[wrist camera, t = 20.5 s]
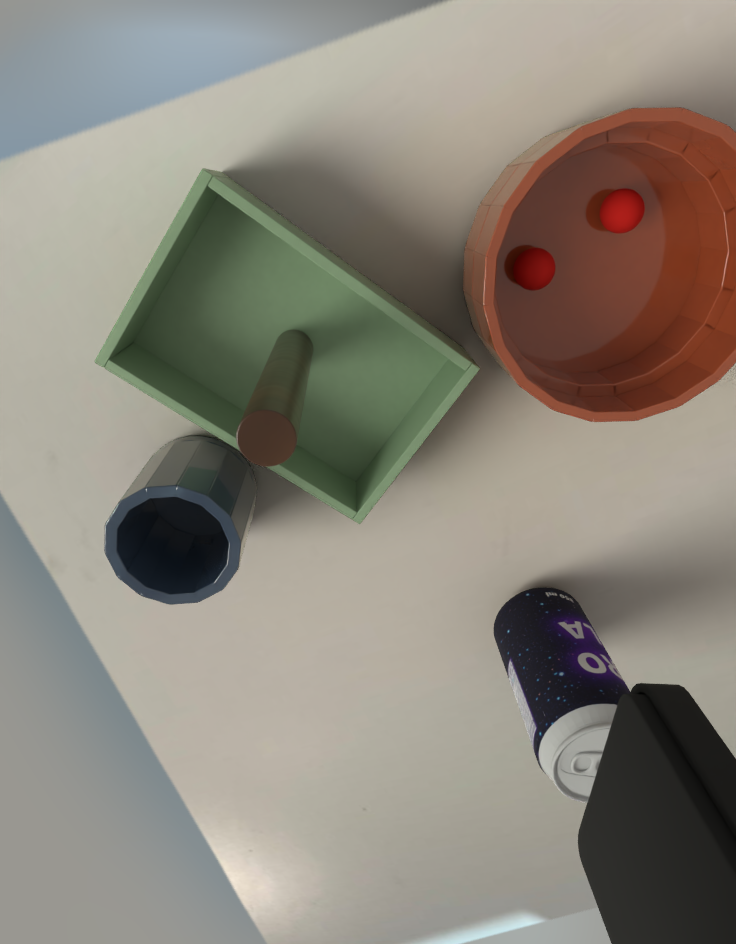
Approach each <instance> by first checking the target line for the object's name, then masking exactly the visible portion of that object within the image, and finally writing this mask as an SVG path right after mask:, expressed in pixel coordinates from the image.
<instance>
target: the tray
mask: <svg viewBox="0 0 736 944" xmlns="http://www.w3.org/2000/svg"><path fill="white" fill-rule="evenodd" d="M287 330H299V331H302V332H304V333H305V334H306V335H308V337H309V338H310V339H311V341H312V344H313V355H312V361H311V366H310V372H309V378H308V383H307V389H306V394H305V400H304V406H303V411H302V417H301V422H300V428H299V434H298V439H297V445H296V448H295V451H294V452H293V454H292V455H291V457H290V458H289V459H288V460H286V461H285V462H283V463H281V464H279V465H276V466H270V467H268V466H265V467H267V468H269V469H270V470H272V471H274V472H275V473H277V474H278V475H280V476H282V477H283V478H285V479H287V480H288V481H290V482H292V483H293V484H295V485H296V486H298V487H300V488H301V489H303V490H305V491H306V492H308V493H310V494H311V495H313V496H314V497H316V498H318V499H319V500H321V501H323V502H324V503H326V504H328V505H329V506H331V507H333V508H334V509H336V510H337V511H339V512H341V513H342V514H344V515H346V516H347V517H349V518H351V519H353V520H354V521H355V522H357V523H359V524H360V523H361V522H362V521H363V520H364V518H365V517H366V516H367V514H368V513H369V512H370V511H371V509H372V508H373V507H374V505H375V504H376V503H377V502H378V500H379V499H380V498H381V496H382V495H383V494H384V493H385V491H386V490H387V489H388V487H389V486H390V485H391V483H392V482H393V481H394V480H395V478H396V477H397V476H398V474H399V473H400V472H401V471H402V469H403V468H404V467H405V465H406V464H407V463H408V462H409V460H410V459H411V458H412V456H413V455H414V454H415V452H416V451H417V450H418V449H419V447H420V446H421V445H422V443H423V442H424V441H425V440H426V438H427V437H428V436H429V434H430V433H431V432H432V431H433V429H434V428H435V427H436V425H437V424H438V423H439V422H440V420H441V419H442V418H443V416H444V415H445V414H446V412H447V411H448V410H449V409H450V407H451V406H452V405H453V403H454V402H455V401H456V400H457V398H458V397H459V396H460V394H461V393H462V392H463V391H464V389H465V388H466V387H467V385H468V384H469V383H470V381H471V380H472V379H473V378H474V376H475V375H476V374H477V372H478V371H479V370H480V368H479V367H478V365H477V364H476V363H475V362H474V360H473V359H472V358H471V357H470V355H469V354H468V353H467V352H466V350H465V349H464V348H463V347H461V346H460V345H459V344H457V343H456V342H454V341H453V340H452V339H450V338H449V337H448V336H446V335H445V334H443V333H442V332H441V331H439V330H438V329H437V328H435V327H434V326H432V325H431V324H430V323H428V322H427V321H426V320H424V319H423V318H421V317H420V316H419V315H417V314H416V313H415V312H413V311H412V310H410V309H409V308H408V307H406V306H405V305H404V304H402V303H401V302H399V301H398V300H397V299H395V298H394V297H393V296H391V295H390V294H388V293H387V292H386V291H384V290H383V289H382V288H380V287H379V286H377V285H376V284H375V283H373V282H372V281H371V280H369V279H368V278H366V277H365V276H364V275H362V274H361V273H360V272H358V271H357V270H355V269H354V268H353V267H351V266H350V265H349V264H347V263H346V262H344V261H343V260H342V259H340V258H339V257H338V256H336V255H335V254H333V253H332V252H331V251H329V250H328V249H326V248H325V247H324V246H322V245H321V244H320V243H318V242H317V241H315V240H314V239H313V238H311V237H310V236H309V235H307V234H306V233H304V232H303V231H302V230H300V229H299V228H298V227H296V226H295V225H293V224H292V223H291V222H289V221H288V220H287V219H285V218H284V217H282V216H281V215H280V214H278V213H277V212H276V211H274V210H273V209H271V208H270V207H269V206H267V205H266V204H265V203H263V202H262V201H260V200H259V199H258V198H256V197H255V196H254V195H252V194H251V193H249V192H248V191H247V190H245V189H244V188H243V187H241V186H240V185H238V184H237V183H236V182H234V181H233V180H232V179H230V178H229V177H227V176H226V175H225V174H223V173H222V172H218V171H213V170H208V169H202V170H201V172H200V174H199V176H198V177H197V179H196V181H195V183H194V185H193V186H192V188H191V190H190V192H189V193H188V195H187V197H186V199H185V201H184V202H183V204H182V206H181V208H180V210H179V211H178V213H177V215H176V217H175V218H174V220H173V222H172V224H171V226H170V227H169V229H168V231H167V233H166V235H165V236H164V238H163V240H162V242H161V243H160V245H159V247H158V249H157V251H156V252H155V254H154V256H153V258H152V260H151V261H150V263H149V265H148V267H147V268H146V270H145V272H144V274H143V276H142V277H141V279H140V281H139V283H138V285H137V286H136V288H135V290H134V292H133V293H132V295H131V297H130V299H129V301H128V302H127V304H126V306H125V308H124V310H123V311H122V313H121V315H120V317H119V319H118V320H117V322H116V324H115V326H114V327H113V329H112V331H111V333H110V335H109V336H108V338H107V340H106V342H105V344H104V345H103V347H102V349H101V351H100V352H99V354H98V356H97V358H96V360H95V363H97V364H98V365H100V366H102V367H105V369H107V370H108V371H110V372H111V373H113V374H115V375H116V376H118V377H120V378H121V379H123V380H125V381H126V382H128V383H129V384H131V385H133V386H134V387H136V388H138V389H139V390H141V391H143V392H144V393H146V394H147V395H149V396H151V397H152V398H154V399H156V400H157V401H159V402H161V403H162V404H164V405H165V406H167V407H169V408H170V409H172V410H174V411H175V412H177V413H179V414H180V415H182V416H183V417H185V418H187V419H188V420H190V421H192V422H193V423H195V424H197V425H198V426H200V427H201V428H203V429H205V430H206V431H208V432H210V433H211V434H213V435H215V436H216V437H218V438H220V439H221V440H223V441H224V442H226V443H228V444H229V445H231V446H233V447H234V448H236V449H238V450H239V448H238V445H237V441H236V432H237V428H238V426H239V423H240V421H241V419H242V417H243V414H244V412H245V410H246V408H247V405H248V403H249V401H250V399H251V396H252V394H253V392H254V390H255V387H256V385H257V383H258V381H259V378H260V376H261V374H262V372H263V369H264V367H265V365H266V363H267V360H268V358H269V356H270V354H271V352H272V349H273V347H274V345H275V343H276V340H277V338H278V337H279V336H280V335H281V334H282V333H283V332H285V331H287ZM239 451H240V450H239Z"/></svg>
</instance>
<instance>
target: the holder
mask: <svg viewBox="0 0 736 944" xmlns="http://www.w3.org/2000/svg"><path fill="white" fill-rule="evenodd" d="M256 498H257V484H256V479H255V476H254V473H253V471H252V469H251V467H250V465H249V464H248V462H247V461H246V459H245V458H244V457H243V456H242V455H241V454H240V453H239V452H238V451H237V450H236V449H234V448H233V447H231V446H230V445H228V444H226V443H224V442H222V441H219V440H217V439H214V438H210V437H204V436H188V437H183V438H179V439H176V440H173V441H171V442H169V443H167V444H166V445H164V446H163V447H162V448H160V449H159V450H158V451H157V452H156V453H155V454H154V455H153V456H152V457H151V458H150V460H149V461H148V463H147V464H146V465H145V467H144V468H143V469H142V471H141V472H140V474H139V475H138V476H137V478H136V479H135V480H134V482H133V483H132V485H131V486H130V487H129V489H128V490H127V491H126V493H125V494H124V496H123V497H122V498H121V500H120V501H119V503H118V504H117V506H116V507H115V509H114V511H113V512H112V514H111V515H110V517H109V519H108V520H107V522H106V524H105V542H104V551H105V554H106V556H107V558H108V560H109V562H110V564H111V566H112V568H113V570H114V572H115V574H116V576H118V578H119V579H120V580H122V581H123V582H124V583H125V584H127V585H128V586H129V587H130V588H132V589H133V590H134V591H135V592H137V593H138V594H139V595H141V596H143V597H147V598H150V599H153V600H156V601H160V602H163V603H166V604H184V603H198V602H200V601H202V600H204V599H206V598H208V597H210V596H212V595H214V594H216V593H218V592H219V591H221V590H223V589H224V588H225V587H226V585H227V584H228V583H229V581H230V580H231V578H232V577H233V576H234V574H235V573H236V571H237V570H238V568H239V565H240V561H241V558H242V554H243V550H244V547H245V543H246V539H247V536H248V532H249V529H250V525H251V521H252V518H253V514H254V508H255V502H256Z"/></svg>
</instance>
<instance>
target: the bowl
mask: <svg viewBox="0 0 736 944" xmlns="http://www.w3.org/2000/svg"><path fill="white" fill-rule="evenodd" d="M622 188H628V189H632V190H635V191H636V192H638V193H639V194H640V196H641V197H642V199H643V201H644V205H645V211H644V215H643V218H642V220H641V221H640V223H639V224H638V225H637V226H636V227H635V228H634V229H632V230H631V231H629V232H626V233H613V232H610V231H608V230H607V229H606V228H605V227H604V226H603V224H602V223H601V220H600V208H601V205H602V202H603V201H604V199H605V198H606V197H607V196H608V195H609V194H610V193H612V192H613V191H615V190H618V189H622ZM465 247H466V248H465V250H464V275H463V290H464V291H463V292H464V296H465V300H466V303H467V307H468V311H469V314H470V318H471V321H472V325H473V328H474V330H475V332H476V333H477V335H478V336H479V338H480V339H481V341H482V342H483V344H484V345H485V347H486V348H487V349H488V351H489V352H490V354H491V355H492V357H493V358H494V360H495V361H496V362H497V363H498V364H499V365H500V366H501V367H502V368H503V369H504V370H505V371H506V372H507V373H508V375H509V376H510V377H511V378H512V379H513V380H514V381H515V382H516V383H517V384H518V385H519V386H520V387H521V388H523V389H524V390H525V391H527V392H528V393H529V394H531V395H532V396H534V397H535V398H536V399H538V400H539V401H540V402H542V403H543V404H545V405H546V406H547V407H549V408H550V409H552V410H554V411H557V412H560V413H564V414H567V415H571V416H574V417H577V418H581V419H584V420H587V421H591V422H592V421H593V422H612V421H635V420H640V419H643V418H646V417H649V416H652V415H655V414H659V413H662V412H665V411H668V410H671V409H674V408H677V407H679V406H681V405H683V404H684V403H686V402H687V401H689V400H690V399H692V398H693V397H695V396H696V395H698V394H700V393H701V392H703V391H704V390H706V389H707V388H709V387H710V386H712V385H713V384H715V383H716V382H718V380H720V379H721V378H722V377H723V376H724V375H725V374H726V373H727V371H728V370H729V369H730V368H731V367H732V366H733V365H734V364H735V363H736V132H735V131H734V130H733V129H732V128H731V127H729V126H727V124H724V123H721V122H719V121H716V120H714V119H711V118H708V117H706V116H703V115H701V114H698V113H695V112H693V111H690V110H688V109H685V108H681V107H675V108H631V109H626V110H623V111H620V112H616V113H613V114H610V115H606V116H603V117H600V118H596V119H593V120H590V121H587V122H584V123H581V124H578V125H575V126H573V127H570V128H567V129H565V130H562V131H559V132H556V133H554V134H551V135H548V136H546V137H544V138H542V139H541V140H539V141H538V142H537V143H536V144H534V145H533V146H532V147H530V148H529V149H528V150H527V151H525V152H524V153H523V154H521V155H520V156H519V157H518V158H516V159H515V160H514V161H512V162H511V163H510V164H509V165H507V167H506V168H505V169H504V171H503V172H502V174H501V175H500V176H499V178H498V179H497V181H496V182H495V183H494V185H493V186H492V188H491V189H490V190H489V192H488V193H487V195H486V196H485V197H484V199H483V200H482V202H481V204H480V206H479V207H478V210H477V213H476V216H475V219H474V222H473V225H472V228H471V231H470V233H469V236H468V239H467V242H466V245H465ZM530 248H542V249H544V250H546V251H548V252H549V253H550V254H551V255H552V257H553V259H554V261H555V274H554V277H553V279H552V280H551V282H550V283H549V284H548V285H547V286H545V287H544V288H542V289H539V290H527V289H524V288H523V287H521V286H520V285H519V284H518V283H517V282H516V280H515V278H514V274H513V268H514V263H515V261H516V259H517V257H518V256H519V255H520V254H521V253H522V252H524V251H525V250H527V249H530Z"/></svg>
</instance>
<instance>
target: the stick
mask: <svg viewBox="0 0 736 944" xmlns="http://www.w3.org/2000/svg"><path fill="white" fill-rule="evenodd" d="M312 355H313V344H312V341H311V339H310V338H309V337H308V335H306V334H305V333H304V332H302V331H299V330H287V331H285V332H283V333H282V334H281V335H280V336H279V337H278V338H277V340H276V343H275V345H274V347H273V349H272V352H271V354H270V356H269V358H268V360H267V363H266V365H265V367H264V369H263V372H262V374H261V376H260V378H259V381H258V383H257V385H256V387H255V390H254V392H253V394H252V396H251V399H250V401H249V403H248V405H247V408H246V410H245V412H244V414H243V417H242V419H241V421H240V423H239V426H238V428H237V432H236V441H237V445H238V448H239V450H240V452H241V453H242V454H243V456H244V457H245V458H246V459H248V460H249V461H250V462H252V463H254V464H257V465H260V466H268V467H270V466H276V465H279V464H281V463H283V462H285V461H286V460H288V459H289V458H290V457H291V455H292V454H293V452H294V451H295V448H296V445H297V439H298V434H299V428H300V422H301V417H302V411H303V406H304V400H305V394H306V389H307V383H308V378H309V372H310V366H311V361H312Z"/></svg>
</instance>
